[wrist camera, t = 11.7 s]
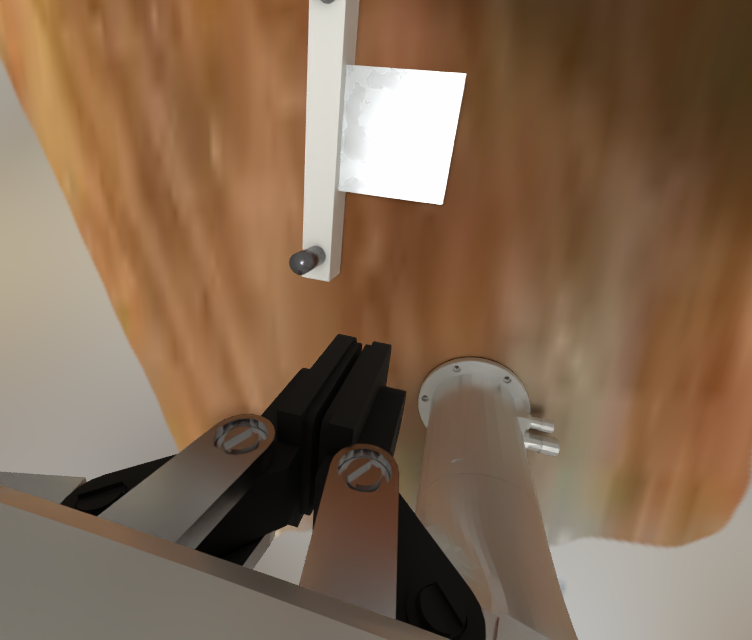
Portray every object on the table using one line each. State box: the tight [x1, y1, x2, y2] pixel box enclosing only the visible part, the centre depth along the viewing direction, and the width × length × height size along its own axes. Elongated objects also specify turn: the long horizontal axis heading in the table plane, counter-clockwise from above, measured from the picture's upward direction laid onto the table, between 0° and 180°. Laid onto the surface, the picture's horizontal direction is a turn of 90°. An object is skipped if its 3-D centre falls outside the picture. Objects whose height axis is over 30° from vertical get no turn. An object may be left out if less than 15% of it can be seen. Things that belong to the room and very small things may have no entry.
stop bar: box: [289, 0, 360, 282], centre depth 31 cm, size 3×26×8 cm, turn 173°
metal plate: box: [338, 65, 466, 205], centre depth 32 cm, size 10×10×3 cm
